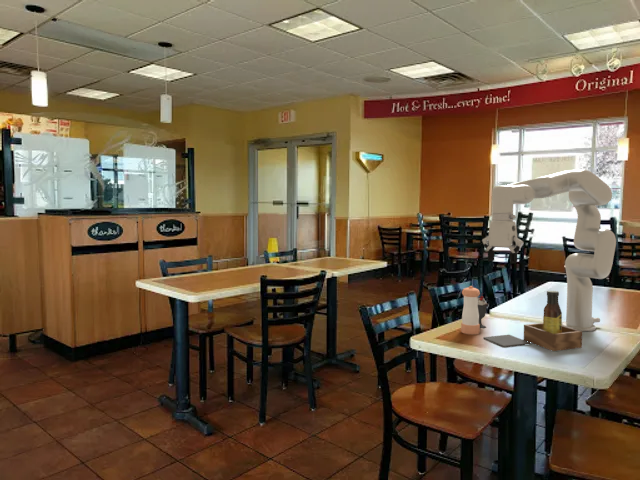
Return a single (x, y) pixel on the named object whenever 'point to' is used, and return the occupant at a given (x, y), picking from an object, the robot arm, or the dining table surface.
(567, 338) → the caddy
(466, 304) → the salt shaker
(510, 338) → the mat
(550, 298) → the sauce bottle
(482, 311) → the sundae
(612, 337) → the dining table surface
